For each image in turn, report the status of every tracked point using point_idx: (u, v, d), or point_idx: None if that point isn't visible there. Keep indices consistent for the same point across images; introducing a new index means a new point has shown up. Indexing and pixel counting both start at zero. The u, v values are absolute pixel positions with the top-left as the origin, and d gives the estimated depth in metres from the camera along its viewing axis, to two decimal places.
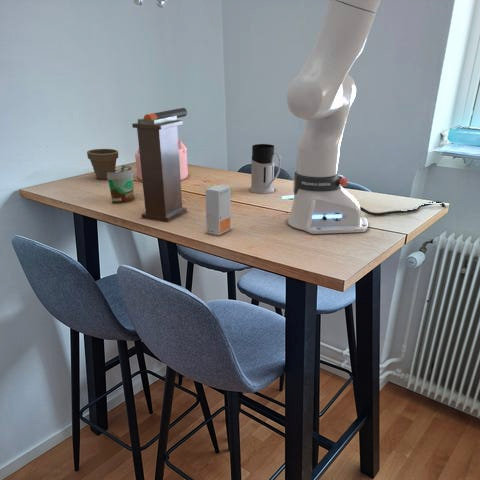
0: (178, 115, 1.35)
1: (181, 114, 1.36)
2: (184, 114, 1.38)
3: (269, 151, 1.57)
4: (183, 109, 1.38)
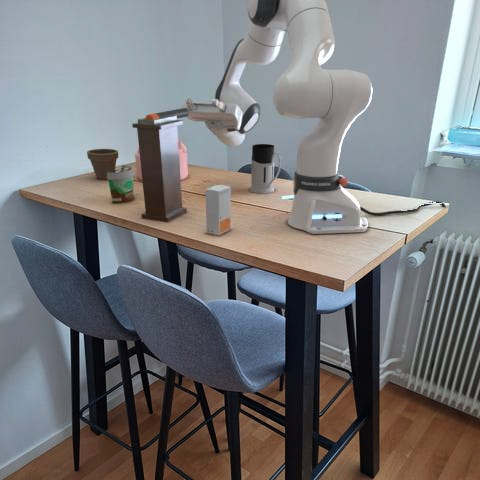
0: (179, 117, 1.35)
1: (182, 116, 1.37)
2: (185, 116, 1.38)
3: (269, 151, 1.57)
4: (186, 111, 1.37)
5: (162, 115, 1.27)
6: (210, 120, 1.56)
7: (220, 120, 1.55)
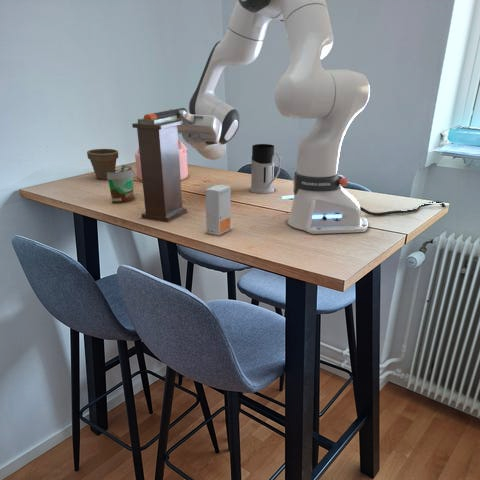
0: None
1: None
2: None
3: (269, 151, 1.57)
4: (183, 109, 1.38)
5: (159, 113, 1.27)
6: (187, 132, 1.45)
7: (197, 132, 1.44)
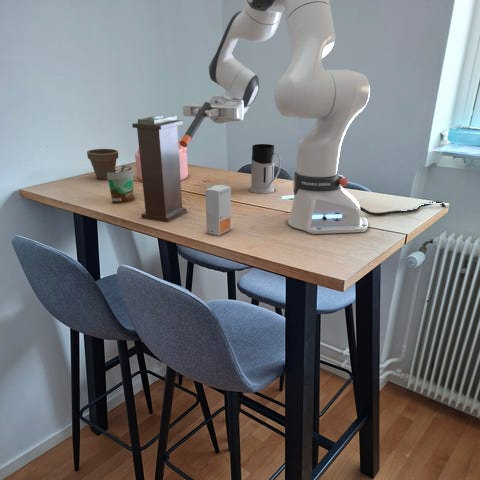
0: (204, 116, 1.49)
1: None
2: (209, 109, 1.51)
3: (269, 151, 1.57)
4: (207, 105, 1.50)
5: (191, 131, 1.44)
6: None
7: None
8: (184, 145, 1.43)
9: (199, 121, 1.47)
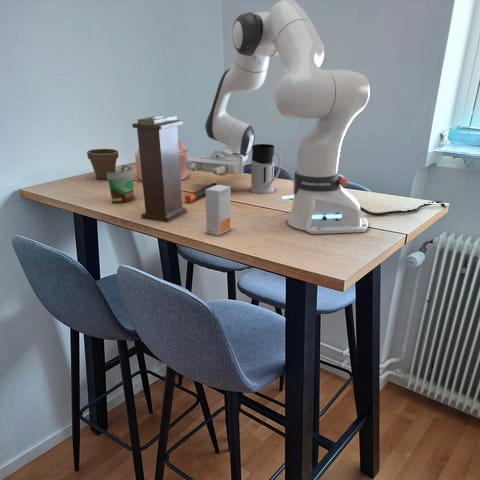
0: None
1: None
2: None
3: (269, 151, 1.57)
4: (214, 184, 1.65)
5: (197, 193, 1.55)
6: None
7: None
8: (188, 200, 1.52)
9: (205, 191, 1.60)
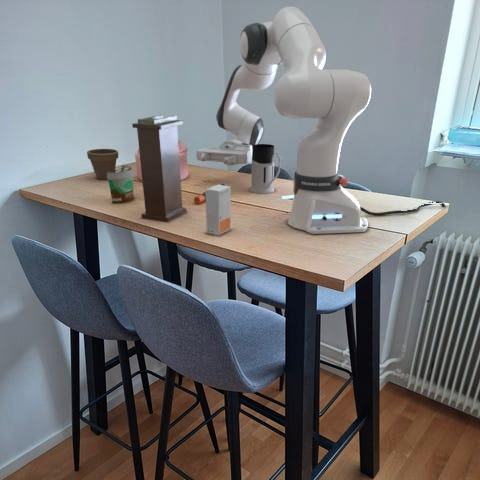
0: None
1: None
2: None
3: (269, 151, 1.57)
4: None
5: None
6: None
7: None
8: (196, 199, 1.51)
9: None
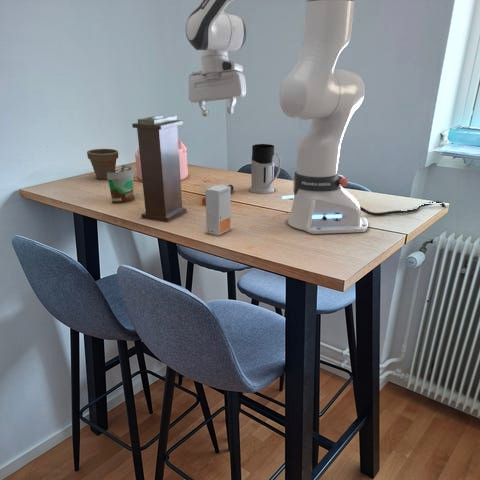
0: None
1: None
2: (231, 187, 1.63)
3: (269, 151, 1.57)
4: (228, 185, 1.63)
5: None
6: None
7: None
8: None
9: None
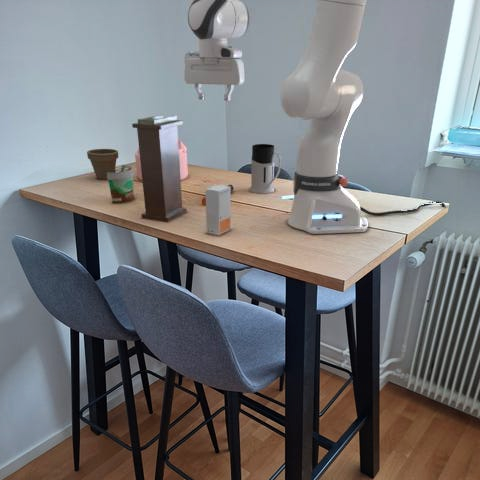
0: None
1: None
2: (231, 187, 1.63)
3: (269, 151, 1.57)
4: None
5: None
6: None
7: None
8: None
9: None
